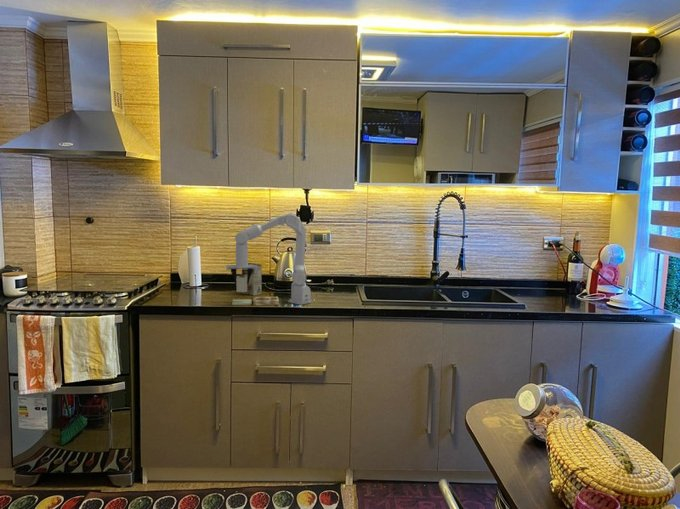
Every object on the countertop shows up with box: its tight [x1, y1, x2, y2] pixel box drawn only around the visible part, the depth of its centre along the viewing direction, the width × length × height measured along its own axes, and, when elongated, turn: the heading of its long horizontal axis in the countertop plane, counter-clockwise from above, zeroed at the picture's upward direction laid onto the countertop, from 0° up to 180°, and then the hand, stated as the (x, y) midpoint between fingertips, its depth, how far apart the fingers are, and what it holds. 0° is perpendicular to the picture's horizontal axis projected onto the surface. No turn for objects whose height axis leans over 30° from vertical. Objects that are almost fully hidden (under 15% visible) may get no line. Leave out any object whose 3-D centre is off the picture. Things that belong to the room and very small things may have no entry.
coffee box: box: [241, 262, 263, 296], centre depth 252 cm, size 9×6×16 cm
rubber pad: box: [231, 298, 252, 306], centre depth 229 cm, size 9×9×1 cm
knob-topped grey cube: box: [235, 275, 247, 293], centre depth 228 cm, size 5×5×7 cm
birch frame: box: [253, 296, 280, 306], centre depth 230 cm, size 12×10×2 cm
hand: (241, 284), depth 228 cm, fingers closed on knob-topped grey cube, 5 cm apart
